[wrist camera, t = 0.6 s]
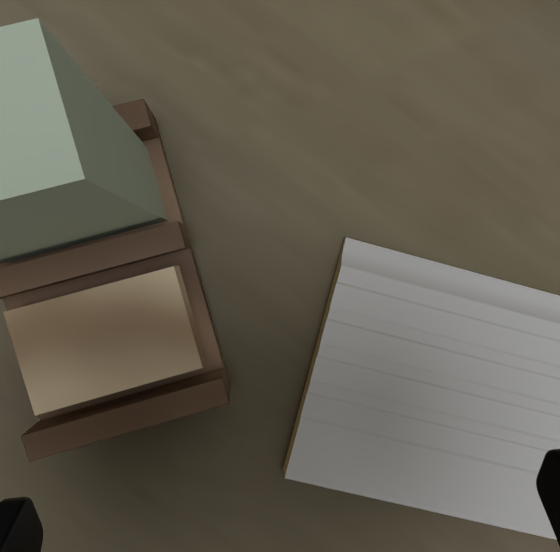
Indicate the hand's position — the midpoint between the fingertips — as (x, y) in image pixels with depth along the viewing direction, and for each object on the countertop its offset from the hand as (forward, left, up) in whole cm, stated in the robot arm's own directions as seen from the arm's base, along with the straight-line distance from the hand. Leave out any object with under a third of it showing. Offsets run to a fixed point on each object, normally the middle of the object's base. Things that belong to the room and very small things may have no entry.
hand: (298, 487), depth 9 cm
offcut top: (-1, +6, -11) cm, 13 cm away
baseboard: (+2, -18, -14) cm, 22 cm away
